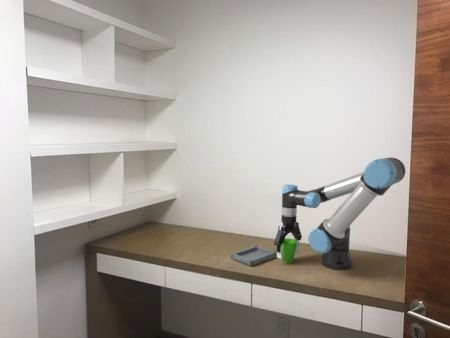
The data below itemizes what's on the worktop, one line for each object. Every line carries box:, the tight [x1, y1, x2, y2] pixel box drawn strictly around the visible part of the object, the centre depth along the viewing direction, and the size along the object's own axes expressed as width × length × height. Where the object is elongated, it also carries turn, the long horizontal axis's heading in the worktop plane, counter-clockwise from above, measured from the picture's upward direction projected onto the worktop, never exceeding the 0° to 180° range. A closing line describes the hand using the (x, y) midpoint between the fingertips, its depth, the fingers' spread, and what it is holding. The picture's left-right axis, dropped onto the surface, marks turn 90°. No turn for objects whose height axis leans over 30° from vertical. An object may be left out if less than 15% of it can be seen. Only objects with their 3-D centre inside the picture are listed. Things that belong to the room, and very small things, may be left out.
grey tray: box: [230, 245, 277, 268], centre depth 190 cm, size 14×19×3 cm
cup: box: [281, 237, 297, 264], centre depth 186 cm, size 9×9×11 cm
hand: (287, 254), depth 186 cm, fingers open, 13 cm apart
